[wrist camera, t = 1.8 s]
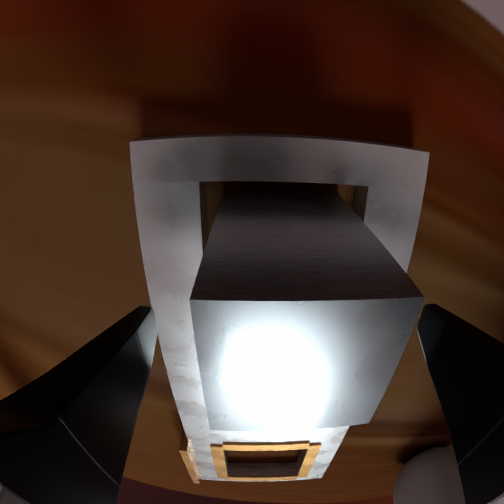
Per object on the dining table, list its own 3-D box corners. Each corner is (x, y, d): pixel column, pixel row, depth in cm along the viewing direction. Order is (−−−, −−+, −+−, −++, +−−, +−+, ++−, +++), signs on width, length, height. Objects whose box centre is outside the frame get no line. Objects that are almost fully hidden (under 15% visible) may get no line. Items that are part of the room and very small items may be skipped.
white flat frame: (413, 147, 12) (440, 156, 10) (319, 466, 25) (322, 484, 23) (129, 138, 12) (105, 146, 10) (197, 466, 25) (195, 485, 23)
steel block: (338, 193, 13) (424, 296, 6) (325, 289, 15) (368, 422, 8) (223, 190, 13) (189, 299, 6) (226, 288, 15) (209, 429, 8)
